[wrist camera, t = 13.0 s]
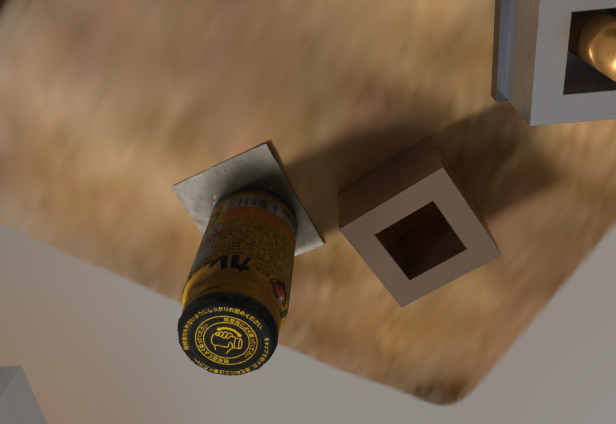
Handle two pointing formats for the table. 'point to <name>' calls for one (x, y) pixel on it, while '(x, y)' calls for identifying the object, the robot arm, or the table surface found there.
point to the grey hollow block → (553, 66)
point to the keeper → (581, 47)
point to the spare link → (426, 240)
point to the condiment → (241, 261)
